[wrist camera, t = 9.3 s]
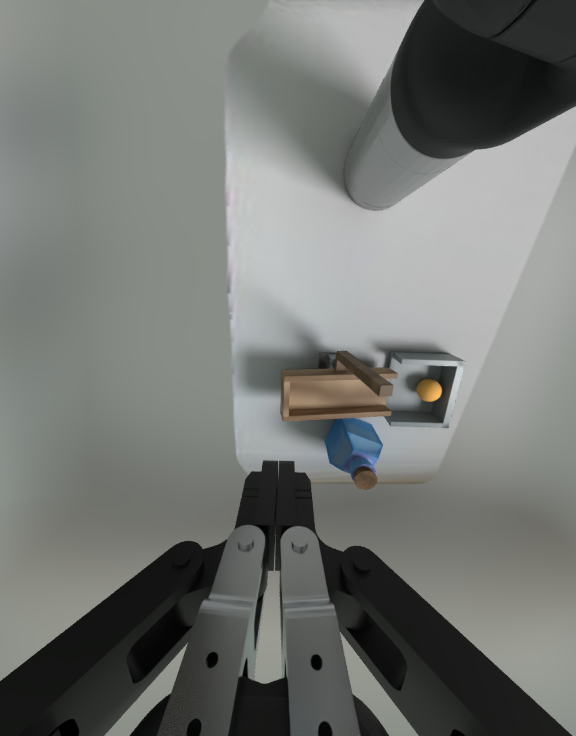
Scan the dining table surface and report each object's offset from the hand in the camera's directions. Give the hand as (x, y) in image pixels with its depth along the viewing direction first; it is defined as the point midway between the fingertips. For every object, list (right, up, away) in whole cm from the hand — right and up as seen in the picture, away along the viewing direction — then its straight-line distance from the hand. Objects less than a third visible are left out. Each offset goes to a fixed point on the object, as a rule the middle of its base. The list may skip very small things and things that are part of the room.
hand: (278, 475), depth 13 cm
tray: (+21, +2, +32) cm, 39 cm away
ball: (+23, +2, +30) cm, 38 cm away
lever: (+8, +3, +29) cm, 30 cm away
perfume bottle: (+11, -6, +36) cm, 38 cm away
